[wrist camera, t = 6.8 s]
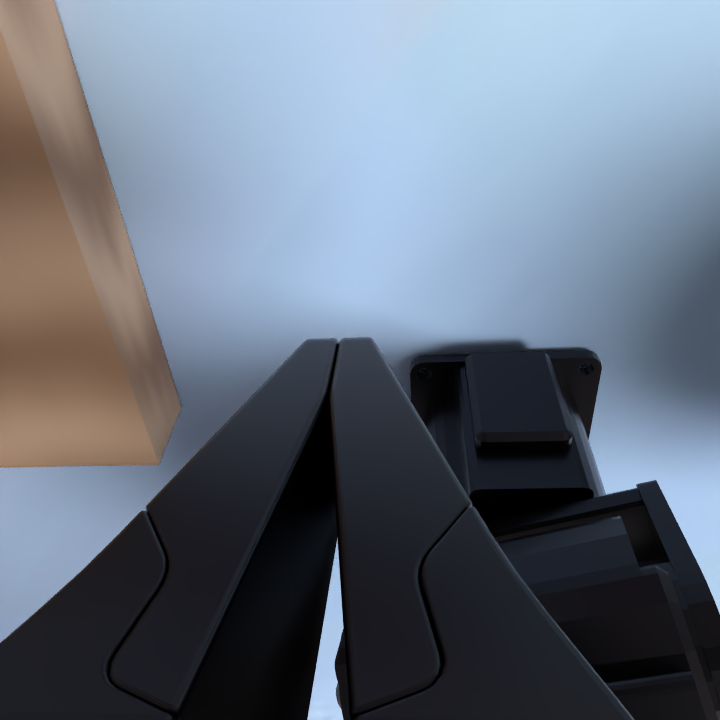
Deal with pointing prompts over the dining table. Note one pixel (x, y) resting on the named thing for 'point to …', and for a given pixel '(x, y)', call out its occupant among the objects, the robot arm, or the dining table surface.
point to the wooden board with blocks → (68, 273)
